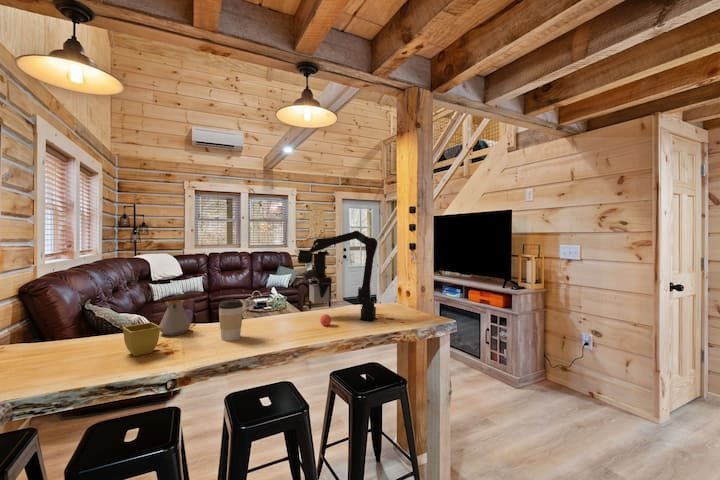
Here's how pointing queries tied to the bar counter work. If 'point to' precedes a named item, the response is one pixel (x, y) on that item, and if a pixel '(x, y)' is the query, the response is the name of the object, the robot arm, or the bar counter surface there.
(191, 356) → the bar counter surface
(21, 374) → the bar counter surface
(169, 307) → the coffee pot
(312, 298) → the grey cube
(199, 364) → the bar counter surface
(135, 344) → the flower pot
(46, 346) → the bar counter surface
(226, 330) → the coffee cup
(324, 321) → the ball
